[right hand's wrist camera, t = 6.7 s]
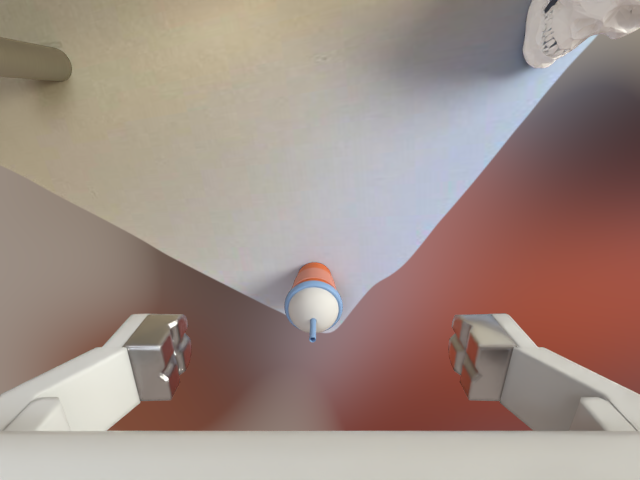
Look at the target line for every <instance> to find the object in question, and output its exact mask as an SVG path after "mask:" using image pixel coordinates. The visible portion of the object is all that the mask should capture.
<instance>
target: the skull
mask: <svg viewBox="0 0 640 480" xmlns="http://www.w3.org/2000/svg"><path fill="white" fill-rule="evenodd" d="M550 1H551V0H532V2H531V4H530V7H529V10H528V14H527V20H526V32H525V39H524V45H523V55H524V58H525V60H526V62H527V63H528V64H529V65H530V66H532V67H533V68H546V67H549V66H550V65H552V64H553V63H554V62H555V61H556V59H558V58H560V57H562V56H564V55H565V54H567V53H568V52H570V51H572V50H573V49H575V48H576V47H577V46H578V45H580V44H581V43H582V42H583V41H585V40H586V39H587V38H588V37H590V36H592V35H597V34H604V35H606V36H608V37H610V38H611V39H617V38H620V37H623V36H625V35H627V34H630V33H632V32H633V31H636V30H637V29H639V28H640V0H558V1H557V2H556V4H555V5H553V6H552V7H551V8H550V10H549V11H548V12H547V13H545V12H544V10H545V8H546V7H547V5H548V4H549V2H550ZM552 12H553V13H552ZM550 28H551V30H550ZM549 30H550V31H549ZM551 33H552V34H551ZM544 35H545V37H544ZM553 37H554V38H555V39H552V38H553ZM551 39H552V40H551ZM549 40H550V41H549ZM547 41H549V42H547ZM555 41H556V42H557V44H556V45H554V46H553V47H551V48H550V46H551V45H553V44H554V42H555ZM544 42H547V43H545V45H544ZM545 46H547V48H545ZM558 48H559V49H558ZM557 49H558V50H557ZM547 50H548V51H547Z"/></svg>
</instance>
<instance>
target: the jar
mask: <svg viewBox="0 0 640 480" xmlns="http://www.w3.org/2000/svg"><path fill="white" fill-rule="evenodd" d="M70 74H71V63H70V61H69V59H68V57H67V56H66V55H65V54H64V53H63V52H62V51H61V50H59V49H56V48H52V47H47V46H42V45H37V44H32V43H27V42H22V41H17V40H12V39H7V38H2V37H0V77H10V78H23V79H36V80H48V81H65V80H66V79H68V78H69V76H70Z"/></svg>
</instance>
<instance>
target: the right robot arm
mask: <svg viewBox="0 0 640 480" xmlns="http://www.w3.org/2000/svg"><path fill="white" fill-rule="evenodd" d="M187 328H188V323H187V318H186V316H185V315H183V314H133V315H131V316H130V317H129V318H128V319H127V320H126V321H125V322H124V323H123V324H122V326H121V327H120V328H119V329H118V330H117V331H116V332H115V333H114V334H113V336H112V337H111V338H110V339H109V340H108V341H107V342H106V343H105V344H104V346H103V347H97V348H94V349H92V350H90V351H88V352H86V353H84V354H82V355H80V356H78V357H76V358H74V359H72V360H70V361H68V362H66V363H64V364H62V365H60V366H58V367H55V368H53V369H51V370H49V371H47V372H45V373H43V374H41V375H39V376H37V377H35V378H33V379H31V380H29V381H27V382H25V383H23V384H21V385H19V386H17V387H15V388H13V389H11V390H9V391H6V392H4V393H2V394H0V480H640V395H639V394H637V393H635V392H633V391H631V390H629V389H627V388H625V387H623V386H621V385H619V384H617V383H615V382H613V381H611V380H609V379H607V378H605V377H603V376H601V375H599V374H597V373H595V372H593V371H591V370H588V369H586V368H584V367H582V366H580V365H578V364H576V363H574V362H572V361H570V360H568V359H566V358H564V357H562V356H560V355H558V354H556V353H554V352H552V351H550V350H548V349H546V348H544V347H537V346H536V345H535V343H534V342H533V341H532V340H531V339H530V338H529V337H528V336H527V335H526V333H525V332H524V331H523V330H522V329H521V328H520V327H519V326H518V324H517V323H516V322H515V321H514V320H513V319H512V318H511V317H510V316H509V315H507V314H481V315H455V316H454V318H453V322H452V328H453V330H454V332H455V334H454V335H453V336H452V337H451V338H450V340H449V348H448V350H449V359H450V362H451V365H452V367H453V369H454V371H455V372H457V373H458V374H460V375H461V378H460V383H461V385H462V387H463V389H464V391H465V393H466V395H467V397H468V399H469V400H483V401H500V403H501V404H502V405H503V406H505V407H506V408H507V409H508V410H510V411H511V412H512V413H513V414H514V415H515V416H517V417H518V418H519V419H520V420H521V421H523V422H524V423H525V424H526V425H527V426H529V427H530V428H531V429H532V430H534V431H107V430H108V429H109V428H110V427H111V426H113V425H114V424H115V423H116V422H117V421H119V420H120V419H121V418H122V417H123V416H125V415H126V414H127V413H128V412H130V411H131V410H132V409H133V408H134V407H136V406H137V405H138V404H139V403H140V401H157V400H171V399H172V397H173V395H174V393H175V391H176V389H177V387H178V385H179V383H180V379H179V375H180V374H182V373H183V372H185V371H186V369H187V367H188V365H189V362H190V358H191V340H190V338H189V337H188V336H187V335H186V334H185V332H186V330H187Z"/></svg>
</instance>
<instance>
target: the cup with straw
mask: <svg viewBox="0 0 640 480" xmlns="http://www.w3.org/2000/svg"><path fill="white" fill-rule="evenodd" d="M342 309H343V304H342V299H341V297H340V295H339V293H338V292H337V290H336V287H335V283H334V280H333V278H332V276H331V273H330V271H329V269H328V268H327V267H326V266H324V265H323V264H320V263H315V262H314V263H308V264H306V265H304V266H303V267H302V268H301V269H300V271H299V273H298V275H297V277H296V279H295V281H294V284H293V287H292V289H291V291H290V292H289V293H288V295H287V297H286V300H285V313H286V316H287V318H288V320H289V321H290V322H291V324H292V325H294V326H295V327H296V328H298V329H300V330H302V331H304V332H308V333H310V336H309V340H310V342H315V341H316V333H320V332H323V331H326V330H328V329H330V328H331V327H333V326H334V325H335V324H336V323H337V322H338V320H339V319H340V317H341V314H342Z"/></svg>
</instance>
